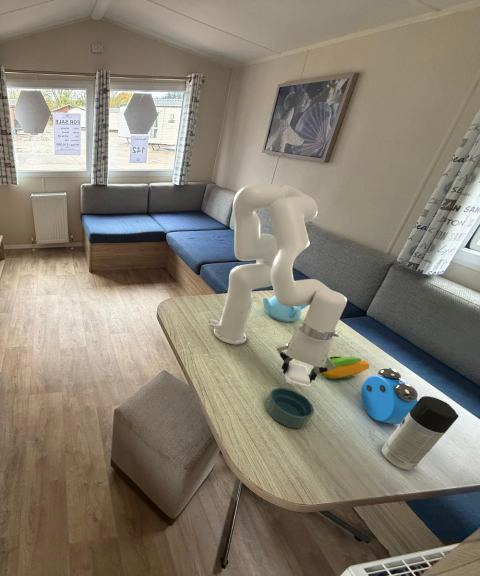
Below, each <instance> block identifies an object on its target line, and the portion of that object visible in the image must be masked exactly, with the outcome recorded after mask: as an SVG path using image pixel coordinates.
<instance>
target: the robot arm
mask: <svg viewBox="0 0 480 576" xmlns="http://www.w3.org/2000/svg"><path fill="white" fill-rule="evenodd" d="M318 209H319V208H318V204H317V202H316V200H315V199H314V198H312V197H311V195H308V194H306V193H304V192H302V191H300V190H298V189H297V188H294V187H293V186H291V185H288V184H285V183H254V184H249V185H246V186H243V187H242V188H241V189H239V190H238V191H237V192H236V193H235V195H234V198H233V201H232V214H233V220H234V231H233V234H234V235H233V236H234V238H233V239H234V241H233V251H234V256H235V259H237V260H239V261H241V262H251V261H256V262H255V263H248V264H241V265H237V266H235V267H233V268H232V269H231V270H230V272H229V274H228V275H229V276H228V289H227V294H226V297H225V302H224V306H223V310H222V314H221V318H220V320H215V319H214V318H213V319H212V318H209V320H208V324H210V325H209V327H212V328H213V334H214V336H215V337H216V338H217V339H218V340H220V341H221V342H224V343H225V344H229V345H242V344H244V343H245V342H246V341H247V338H248V337H247V334H246V333H245V330H246V327H247V323H248V321H249V317H250V315H251V310H252V307H253V305H254V296H253V293H252V291H254V290H258V289H265V288H268V287H269V288H270V287H271V286H272V289H273V294H275V296H276V298H277V300H278V301H279V303H281V304H282V305H284V306H287V307H294V306H300V305H308V306H309V307H308V310H307V312H306V314H305V317H304V320H303V322H302V324H301V325H300V326H298V327H297V328H296V329H295V330H294V332H293V334H292V336H291V338H290V340H289V342H287V343H285V344H281V345H278V346H276V351H277V353H278V354H279V357H280V358H281V359H282V361H283V363H282V365H281V370H282V374H284V375H285V373H286V371H287V368H288V366H289V362H292V361H293V360H296V361H299V362H301V363H304V364H307V365H310V366H313V368H312V369H311V370H310V373H309V377H310V384H312V382H313V381H314V382H315V381H316V379H317V377H318V375H320V374H321V373H323V372H327V371H330V370H334V369H335V365H334V363H333V362H332V361H331V359H330V358H329V357H330V351H331V350H332V349H331V348H332V346H333V341H334V340H333V339H334V337H336V338H339V336H340V332H337V331H336V330H335V329H336V327H337V325H338V323H339V321H340V319H341V317H342V314H343V312H344V310H345V308H346V306H347V303H348V299H347V297H346V296H345V295H344V294H342V293H341V292H338V291H335V290H332V289H331V288H329V287H328V286H327V285H326V284H325V283H323V282H322V281H320V280H318V279H316V278H307V279H298V280H295V279H294V275H293V266H294V262H295V260H296V258H297V257H298V256H299V255H300V254H301V253H302V252H303V251H304V250H306V249H307V248H308V247H309V246H310V237H309V235H308V231H307V227H306V223H307V224H308V223H310V222H311V221H313V220H314V219H315V218H316V217H317V214H318ZM259 210H261V211H263V210H268V215H269V219H270V224H271V228H272V232H273V234H270V233H261V226H262V225H261V223H262V222H261V218H260V217H259V215H258V213H257V212H256V211H259ZM285 351H286V352H285ZM325 363H327V366H324V365H325Z"/></svg>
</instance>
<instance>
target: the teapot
mask: <svg viewBox="0 0 480 576" xmlns="http://www.w3.org/2000/svg"><path fill="white" fill-rule="evenodd" d="M262 302H263V308H264V311H265V313H266V314H267V315H268V316H269V317H270V318H271V319H273V320H276V321H279V322H283V323H293V322H295V321H298V320H299V319H300V318H301V316H302V310H303V309H305V308H306V307H308V306H309V305H300V306H294V307H287V306H284V305H282V304H281V303H279V301H278V300H277V298H276V296H275V293H273V296H272V297H270V298H269V299H268V297H262Z"/></svg>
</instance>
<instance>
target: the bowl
mask: <svg viewBox="0 0 480 576" xmlns="http://www.w3.org/2000/svg"><path fill="white" fill-rule="evenodd" d="M265 406H266V411H267V412H268V414H269V415H270V416H271V417H272V418H273V419H274V420H275V421H277V422H278V423H280V424H281V425H283V426H286V427H288V428H291V429H303V428H306V427H307V426H308V424H309V423H310V421H311V419H312V417H313V415H314V411H315V409H314V406H313V404H312V402H311V401H310V400H309V399H308V398H307V397H305V396H304V395H303V394H302V393H299V392H298V391H296V390H293V389H291V388H287V387H276V388H274V389H272V390H271V391H270V394H269V396H268V399H267V402H266V405H265Z"/></svg>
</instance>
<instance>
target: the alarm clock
mask: <svg viewBox="0 0 480 576" xmlns="http://www.w3.org/2000/svg"><path fill="white" fill-rule="evenodd" d="M360 391H361V392H360V395H361V396H360V397H361V402H362V405H363V408H364V410H365V412H366V413H367V414H368V416H370V418H372V419H373V420H375V421H377V422H380V423H387V424H391V426H394V425H400V424H401V422H402V421H403V420H404V418H405V417H406V416H407V415H408V413H409V412H410V410H411V409H412V408H413V407H414V406H415V404H416V403H417V402H418V401H419V400H418V397H419V395H418V391H417V389H415V387H414V386H412V385H411V384H409V383H408V382H407V381H405V380H404V379H402V375H401V374H400V373H399V372H398V371H397V370H395V369H392V368H391V367H389V368H381V369H379V371H377V374H375V375H370V376H369V377H367V378H366V379H365V380H364V381H363V383H362V386H361V389H360Z"/></svg>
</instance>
